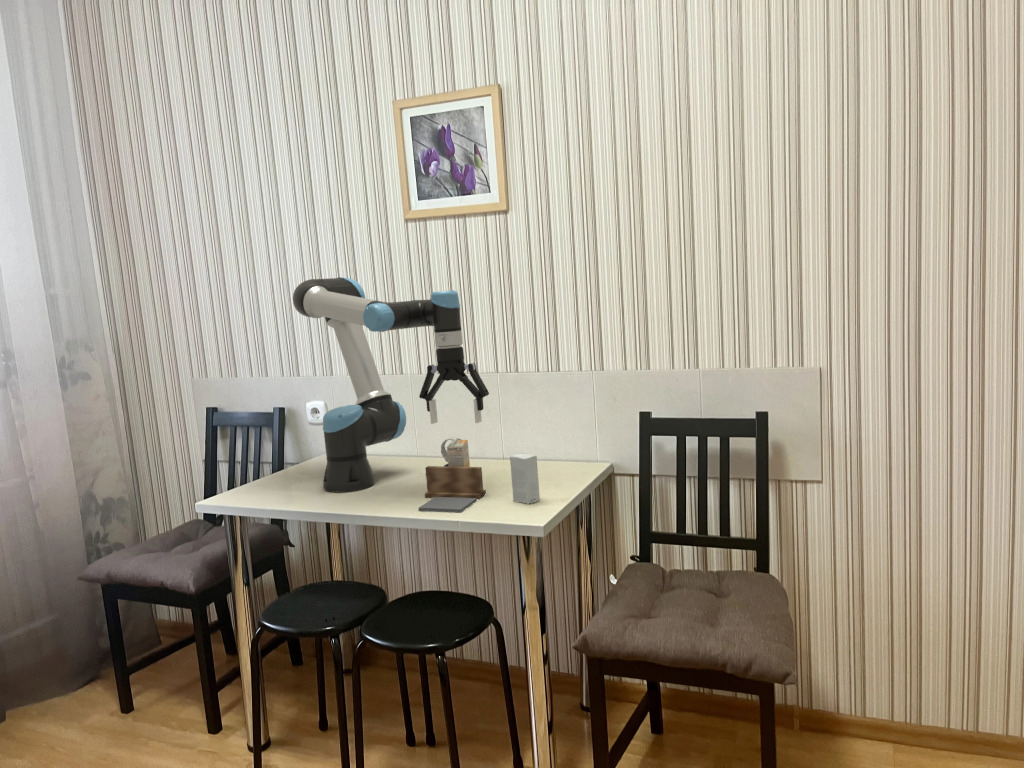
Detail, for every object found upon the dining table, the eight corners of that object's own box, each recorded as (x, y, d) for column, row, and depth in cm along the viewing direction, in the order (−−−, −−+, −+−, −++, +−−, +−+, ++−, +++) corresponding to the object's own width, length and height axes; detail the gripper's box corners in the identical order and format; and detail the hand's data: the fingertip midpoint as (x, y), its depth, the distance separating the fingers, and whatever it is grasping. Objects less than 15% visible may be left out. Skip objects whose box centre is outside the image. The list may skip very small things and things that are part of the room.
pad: (418, 510, 197) (418, 507, 197) (435, 499, 206) (435, 496, 206) (461, 512, 192) (460, 509, 192) (476, 501, 202) (476, 498, 202)
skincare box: (540, 500, 198) (537, 455, 196) (529, 504, 195) (525, 458, 193) (524, 497, 202) (520, 452, 201) (512, 501, 199) (509, 456, 198)
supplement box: (455, 484, 221) (451, 440, 219) (471, 483, 220) (468, 439, 218) (449, 492, 213) (445, 446, 211) (466, 491, 212) (463, 445, 210)
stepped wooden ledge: (425, 497, 209) (422, 469, 208) (433, 492, 213) (430, 464, 212) (479, 499, 203) (476, 470, 202) (486, 494, 208) (483, 465, 207)
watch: (463, 476, 230) (460, 440, 229) (439, 475, 233) (436, 439, 232) (471, 471, 235) (468, 436, 234) (448, 470, 238) (445, 436, 237)
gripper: (403, 350, 212) (410, 425, 215) (485, 345, 203) (492, 424, 206) (415, 347, 219) (422, 420, 222) (496, 343, 210) (502, 419, 213)
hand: (456, 422), depth 214 cm, fingers open, 13 cm apart
